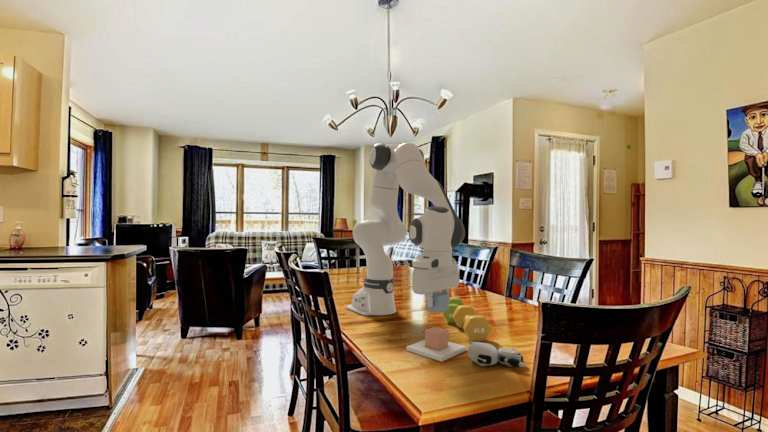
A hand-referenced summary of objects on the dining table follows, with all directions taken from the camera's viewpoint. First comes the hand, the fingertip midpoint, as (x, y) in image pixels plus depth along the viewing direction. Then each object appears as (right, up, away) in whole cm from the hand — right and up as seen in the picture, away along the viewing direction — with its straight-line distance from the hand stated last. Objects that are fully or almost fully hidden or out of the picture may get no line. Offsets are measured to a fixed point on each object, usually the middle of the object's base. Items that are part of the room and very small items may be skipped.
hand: (437, 305), depth 120 cm
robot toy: (+15, -15, -10) cm, 23 cm away
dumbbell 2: (+14, -14, +17) cm, 27 cm away
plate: (0, -14, 0) cm, 14 cm away
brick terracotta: (0, -13, 0) cm, 13 cm away
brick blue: (0, -2, 0) cm, 2 cm away
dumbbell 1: (+12, -14, +37) cm, 41 cm away
